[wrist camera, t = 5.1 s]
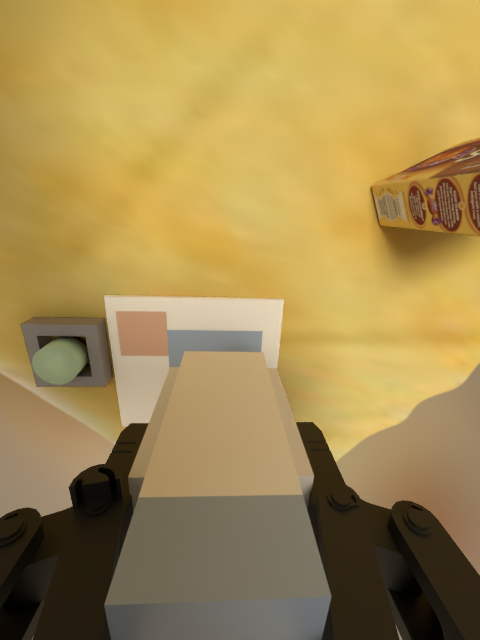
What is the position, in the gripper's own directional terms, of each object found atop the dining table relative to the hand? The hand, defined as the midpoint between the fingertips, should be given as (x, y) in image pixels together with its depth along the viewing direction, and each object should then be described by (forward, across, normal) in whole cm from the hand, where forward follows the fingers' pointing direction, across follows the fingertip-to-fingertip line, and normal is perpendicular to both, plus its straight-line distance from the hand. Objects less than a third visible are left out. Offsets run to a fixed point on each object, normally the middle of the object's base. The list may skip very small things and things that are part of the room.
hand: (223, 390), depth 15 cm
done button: (+14, -16, -5) cm, 22 cm away
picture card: (+16, -3, -7) cm, 17 cm away
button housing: (+15, -16, -5) cm, 23 cm away
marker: (0, 0, 0) cm, 0 cm away
